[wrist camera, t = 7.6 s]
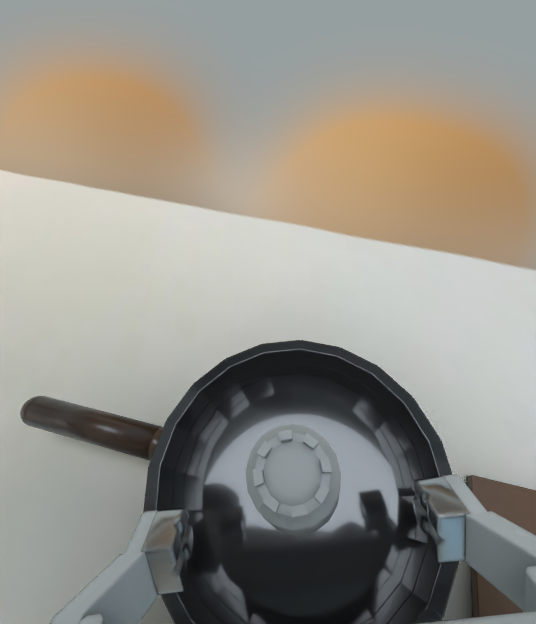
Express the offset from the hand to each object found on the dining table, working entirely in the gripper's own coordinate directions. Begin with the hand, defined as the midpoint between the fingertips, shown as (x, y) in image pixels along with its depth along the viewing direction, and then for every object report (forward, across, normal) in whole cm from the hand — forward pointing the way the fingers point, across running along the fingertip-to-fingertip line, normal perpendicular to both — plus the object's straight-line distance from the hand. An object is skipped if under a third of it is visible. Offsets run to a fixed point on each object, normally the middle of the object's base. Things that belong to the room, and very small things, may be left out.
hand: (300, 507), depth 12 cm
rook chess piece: (+5, 0, +4) cm, 6 cm away
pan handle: (+6, +10, -1) cm, 12 cm away
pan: (+5, 0, +4) cm, 6 cm away
